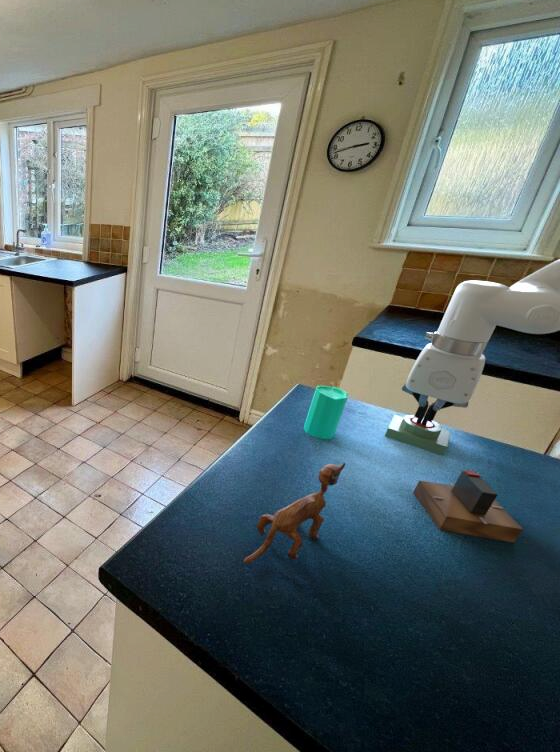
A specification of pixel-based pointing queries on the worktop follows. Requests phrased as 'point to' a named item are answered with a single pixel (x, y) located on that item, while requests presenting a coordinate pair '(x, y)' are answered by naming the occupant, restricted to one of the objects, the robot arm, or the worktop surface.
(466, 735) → the worktop surface
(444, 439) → the button box
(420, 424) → the button
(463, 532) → the panel
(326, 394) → the candle
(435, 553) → the worktop surface
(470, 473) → the dark grey block
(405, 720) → the worktop surface
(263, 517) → the cat figurine
